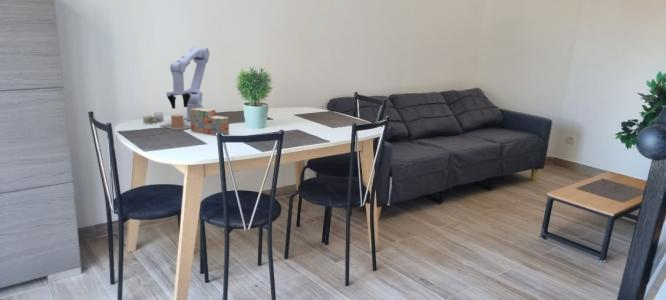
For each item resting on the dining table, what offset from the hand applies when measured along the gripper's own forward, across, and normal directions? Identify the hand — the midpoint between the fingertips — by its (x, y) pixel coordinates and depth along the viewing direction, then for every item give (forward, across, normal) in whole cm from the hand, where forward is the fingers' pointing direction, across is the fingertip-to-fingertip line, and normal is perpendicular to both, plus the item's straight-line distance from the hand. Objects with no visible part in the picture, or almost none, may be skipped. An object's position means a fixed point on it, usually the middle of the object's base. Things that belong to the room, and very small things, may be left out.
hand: (179, 107), depth 274 cm
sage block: (+10, +12, -12) cm, 19 cm away
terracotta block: (+9, +6, +7) cm, 13 cm away
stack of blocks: (+10, +1, +30) cm, 31 cm away
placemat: (+9, +6, +7) cm, 13 cm away
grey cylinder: (+10, +5, -14) cm, 18 cm away
